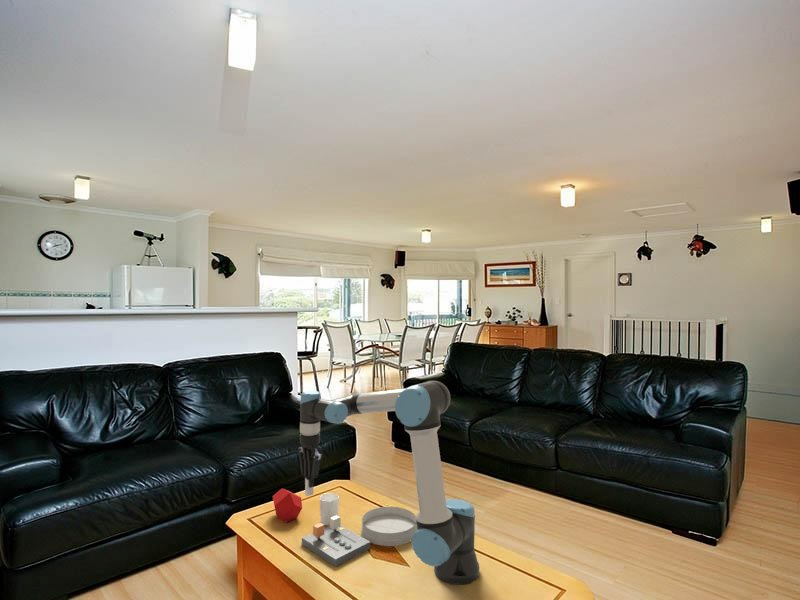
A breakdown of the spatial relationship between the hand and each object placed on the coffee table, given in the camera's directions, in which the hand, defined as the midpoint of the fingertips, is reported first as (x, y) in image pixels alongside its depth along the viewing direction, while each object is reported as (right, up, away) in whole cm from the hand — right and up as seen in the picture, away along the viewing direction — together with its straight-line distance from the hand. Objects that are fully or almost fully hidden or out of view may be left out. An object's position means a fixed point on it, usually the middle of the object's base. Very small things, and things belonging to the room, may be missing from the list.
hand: (309, 494), depth 175 cm
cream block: (+10, -14, +2) cm, 17 cm away
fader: (+4, -14, -4) cm, 16 cm away
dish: (+30, -18, +7) cm, 36 cm away
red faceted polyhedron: (-13, -17, +18) cm, 28 cm away
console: (+11, -17, -5) cm, 21 cm away
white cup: (+5, -17, +14) cm, 23 cm away
